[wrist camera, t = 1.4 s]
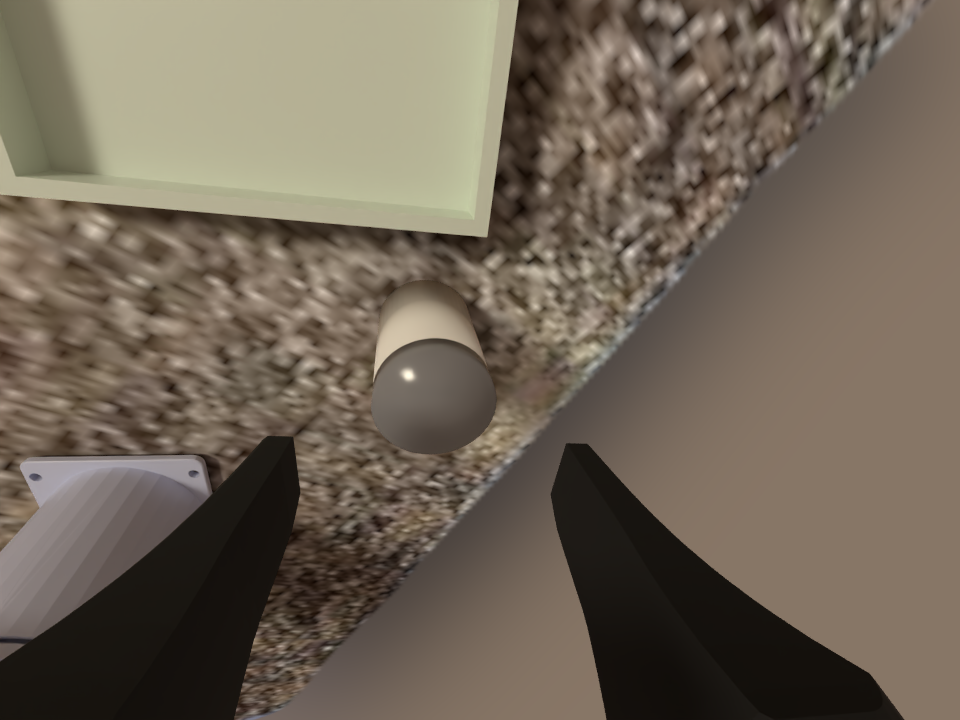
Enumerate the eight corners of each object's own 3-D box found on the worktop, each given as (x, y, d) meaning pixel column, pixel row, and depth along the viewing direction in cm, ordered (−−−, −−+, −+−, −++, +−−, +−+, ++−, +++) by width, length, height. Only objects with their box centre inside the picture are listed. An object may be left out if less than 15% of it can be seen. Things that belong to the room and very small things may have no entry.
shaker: (464, 363, 23) (487, 453, 17) (378, 360, 22) (371, 455, 16) (474, 283, 21) (505, 354, 15) (379, 276, 20) (371, 349, 14)
